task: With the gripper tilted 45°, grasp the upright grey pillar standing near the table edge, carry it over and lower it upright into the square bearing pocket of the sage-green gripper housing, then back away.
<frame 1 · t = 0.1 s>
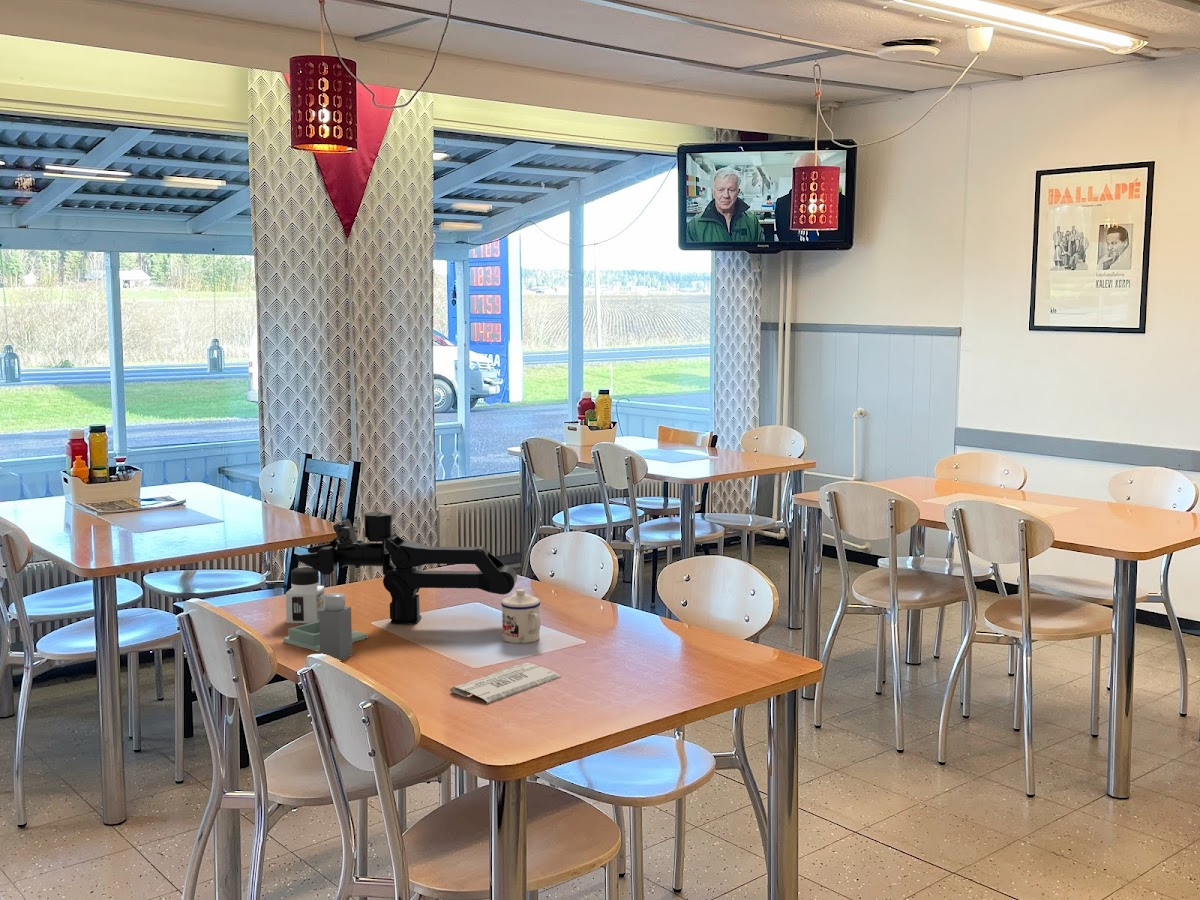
hand: (302, 553, 285), 17 cm above the table, tool horizontal, fingers open, 9 cm apart
teacup with lid: (524, 641, 270), on the table
container: (306, 620, 287), on the table
newspaper: (502, 688, 238), on the table
housing: (317, 642, 267), on the table
upright grey pillar: (336, 657, 256), on the table
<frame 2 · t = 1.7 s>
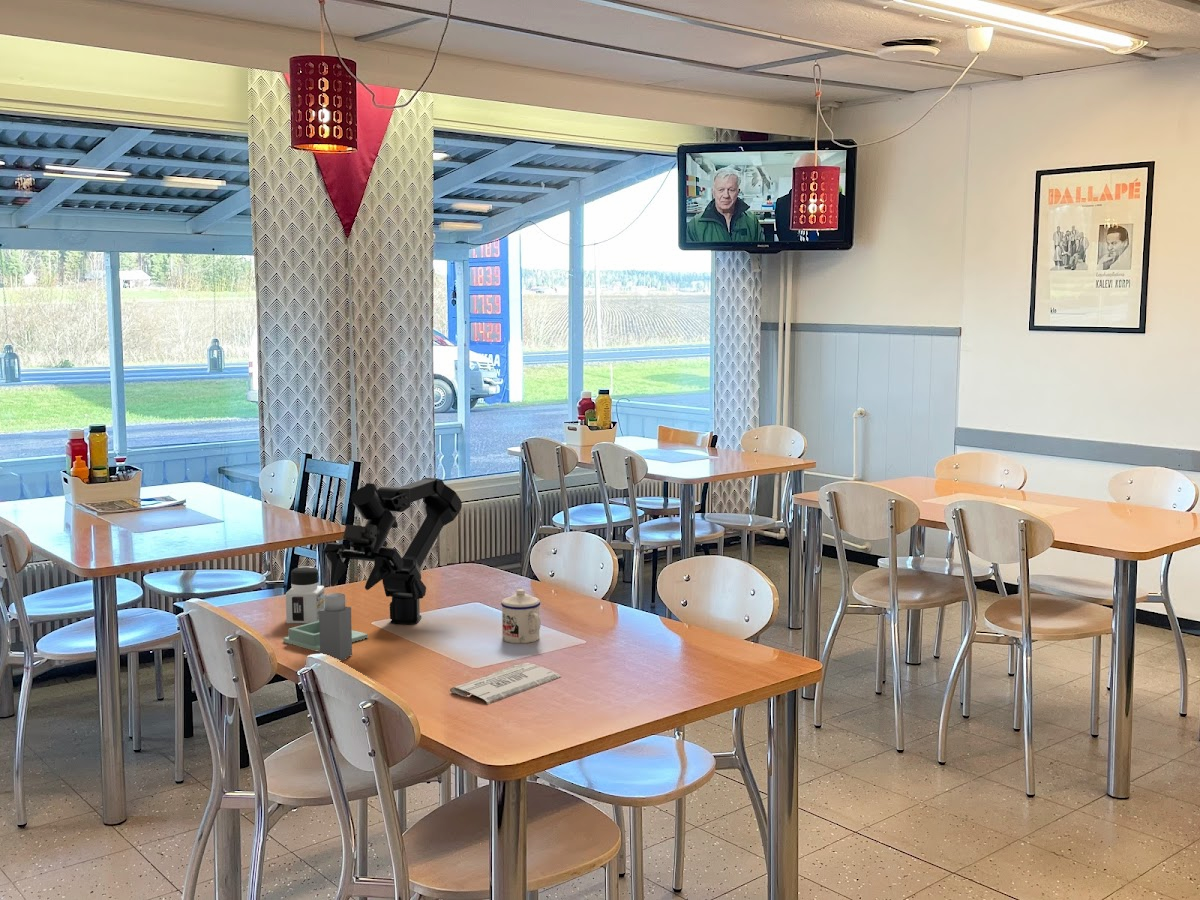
hand: (348, 587, 262), 14 cm above the table, tool tilted 45°, fingers open, 9 cm apart
nothing on the table moved.
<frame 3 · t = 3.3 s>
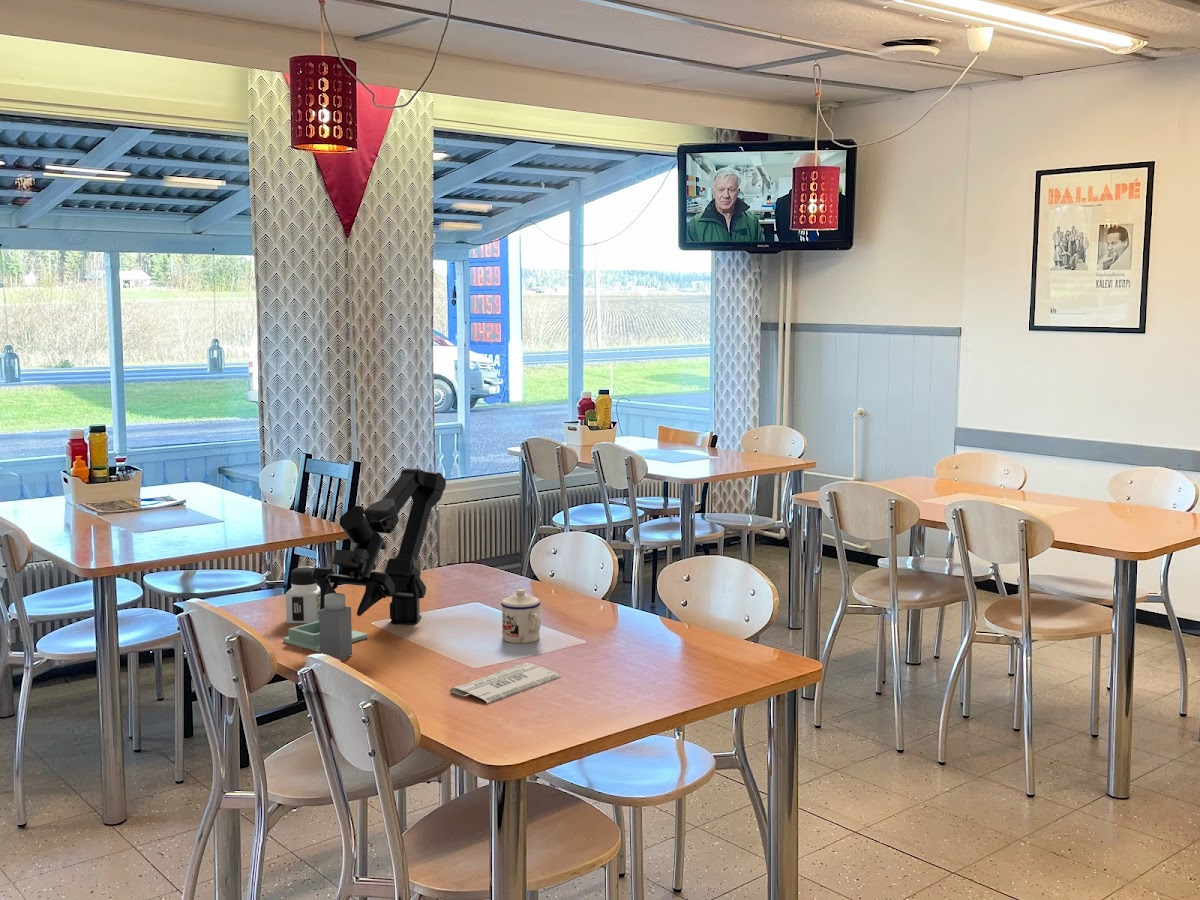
hand: (339, 613, 257), 9 cm above the table, tool tilted 45°, fingers open, 9 cm apart
nothing on the table moved.
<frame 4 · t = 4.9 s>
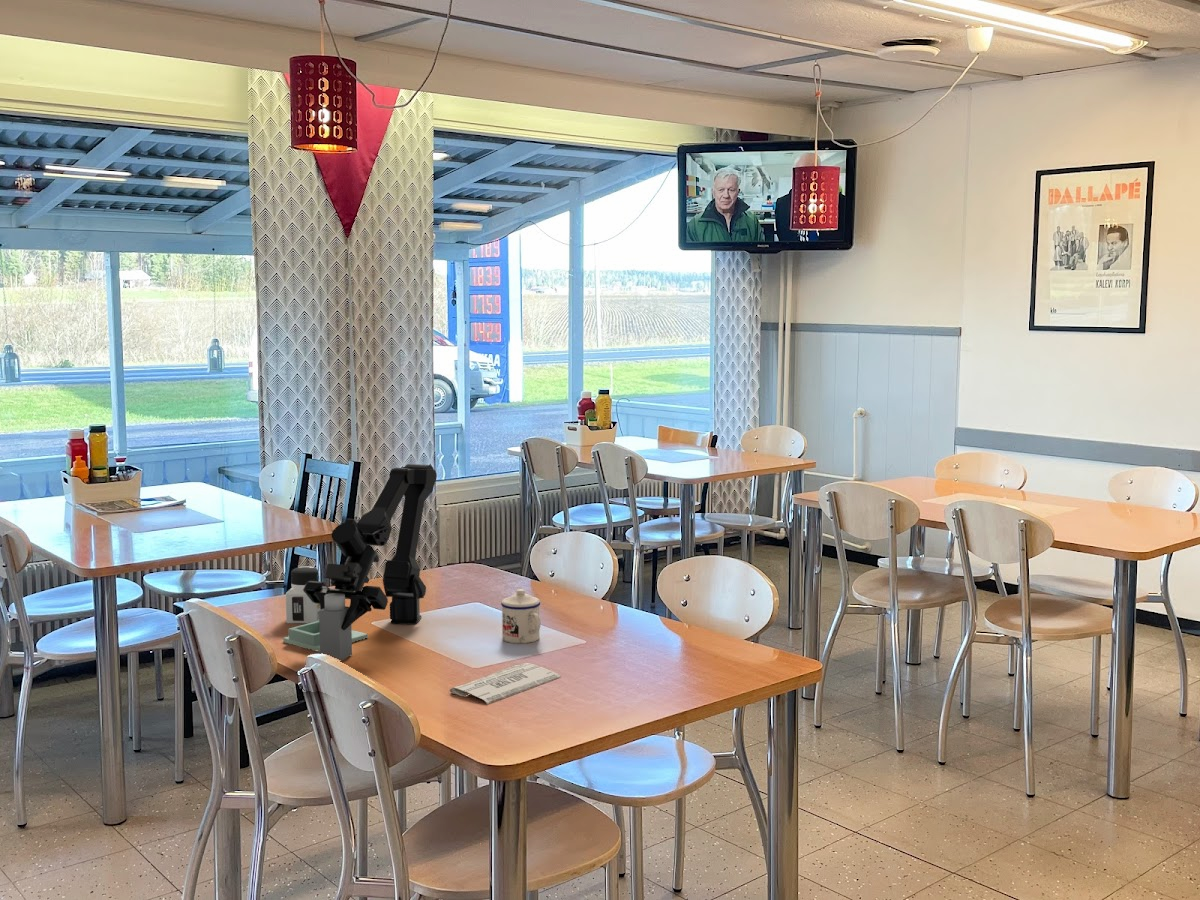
hand: (332, 628, 254), 7 cm above the table, tool tilted 45°, fingers closed on upright grey pillar, 5 cm apart
upright grey pillar: (336, 657, 256), on the table, touching gripper
everything else where it was.
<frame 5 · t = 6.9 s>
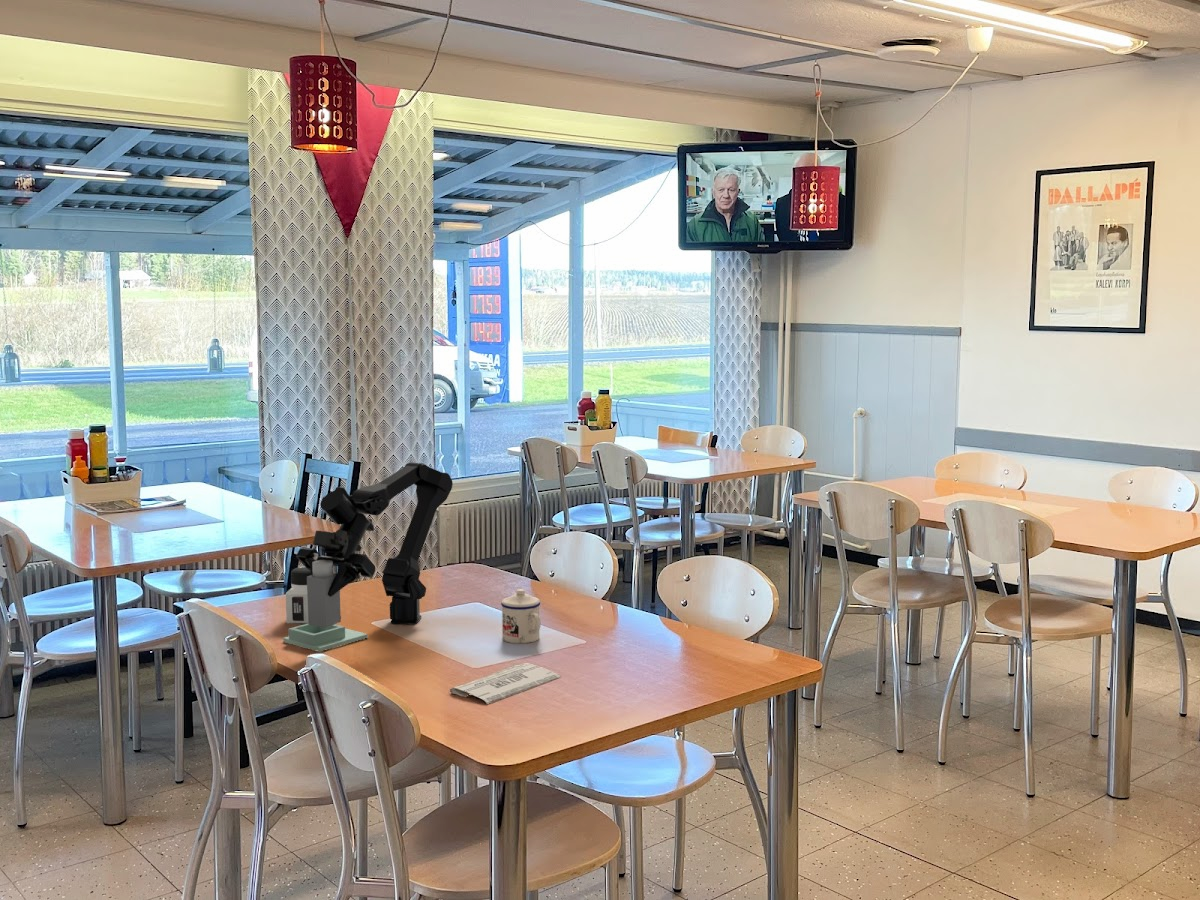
hand: (319, 594, 258), 13 cm above the table, tool tilted 45°, fingers closed on upright grey pillar, 5 cm apart
upright grey pillar: (324, 623, 260), point 6 cm above the table, touching gripper
everything else where it was.
when the fingers open (9 cm above the table, at t = 8.9 s): upright grey pillar drops 1 cm, resting on housing.
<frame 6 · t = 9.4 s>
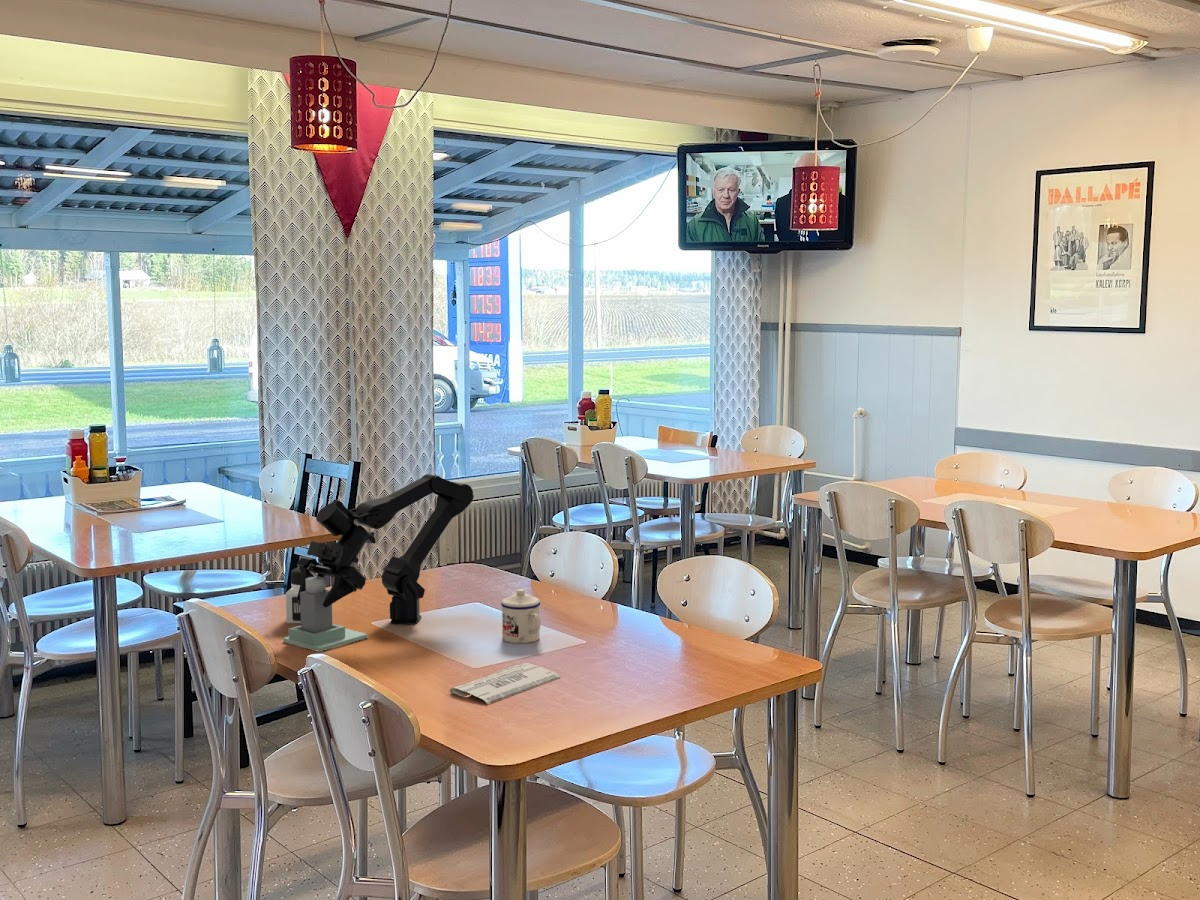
hand: (311, 603, 265), 10 cm above the table, tool tilted 45°, fingers open, 9 cm apart
upright grey pillar: (317, 638, 267), point 1 cm above the table, touching housing
everything else where it was.
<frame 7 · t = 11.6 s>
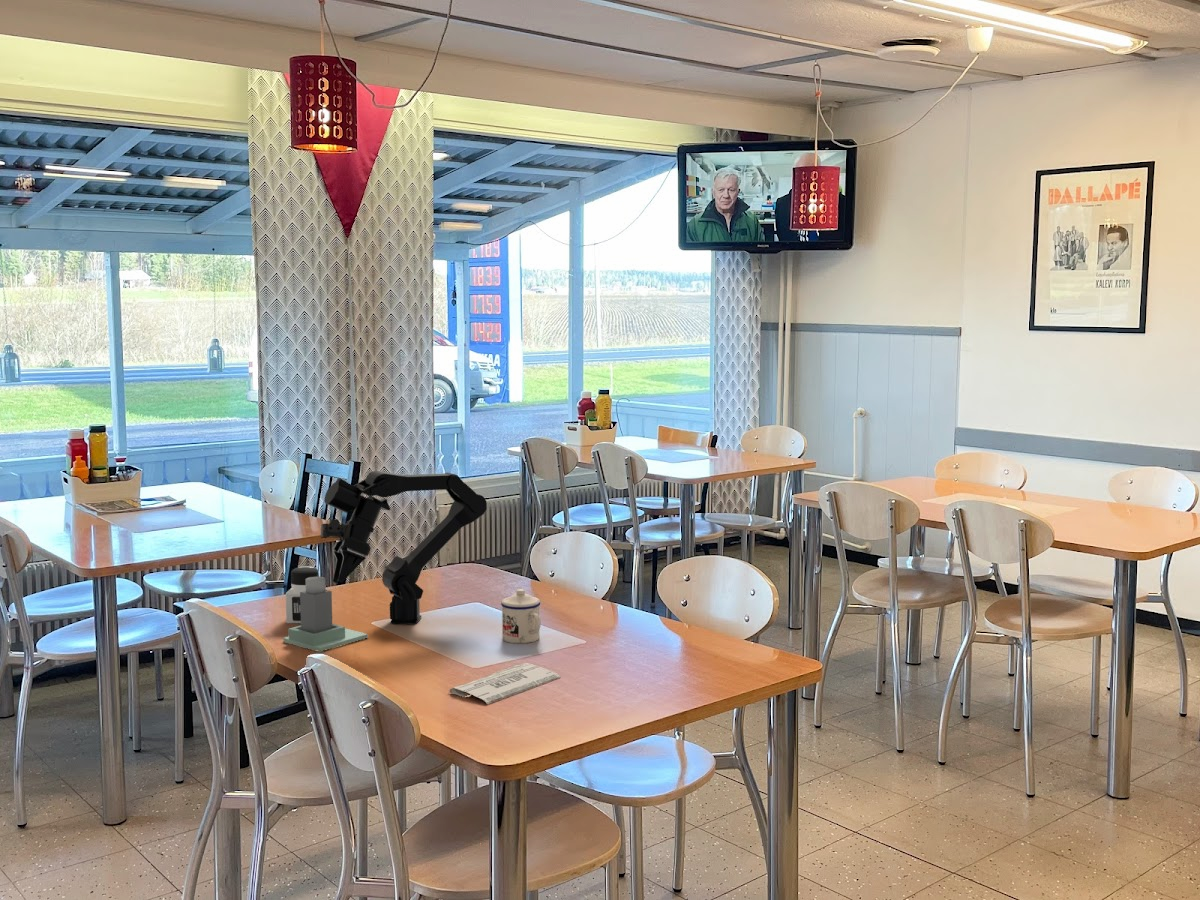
hand: (337, 581, 273), 13 cm above the table, tool tilted 30°, fingers open, 9 cm apart
nothing on the table moved.
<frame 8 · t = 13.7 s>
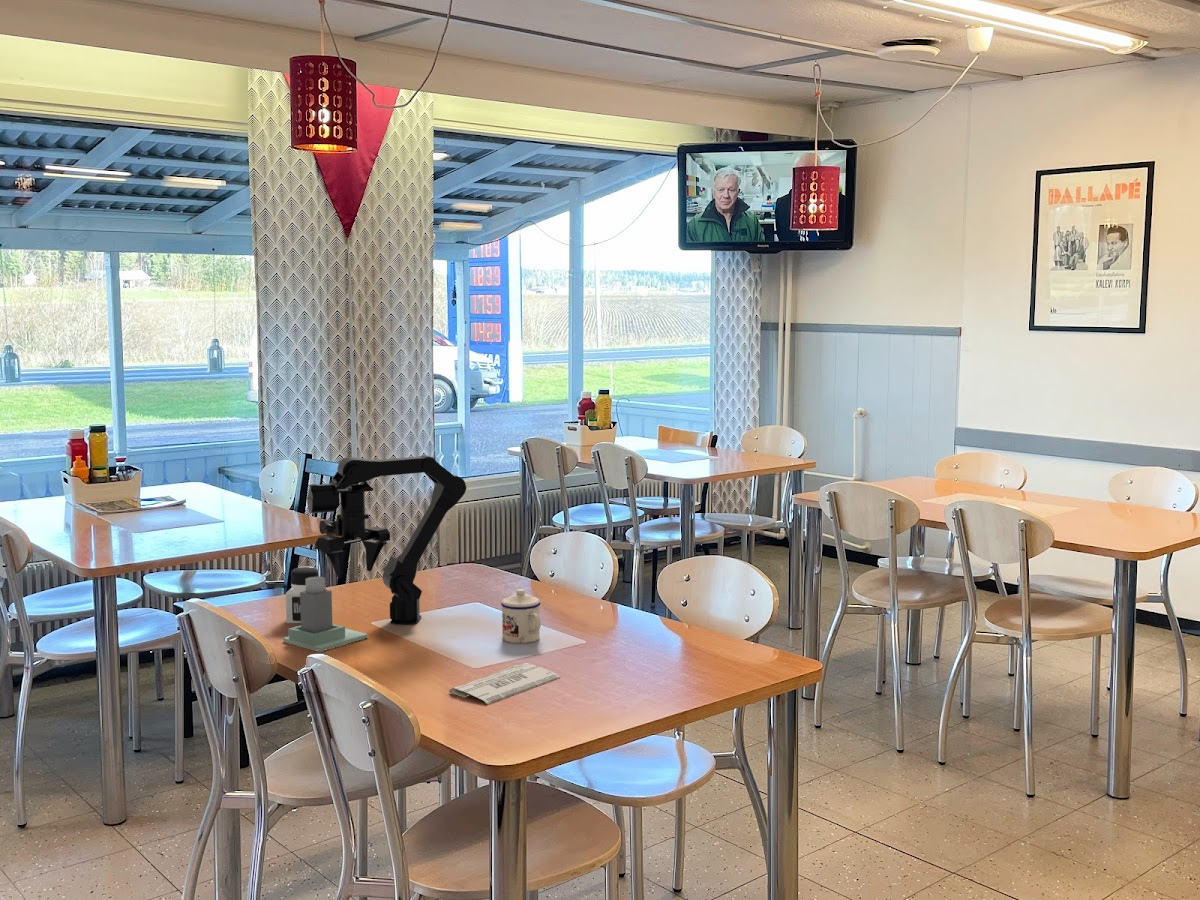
hand: (354, 574, 279), 13 cm above the table, tool pointing down, fingers open, 9 cm apart
nothing on the table moved.
at the end: upright grey pillar 0.0 cm off-centre on the housing, point 1.0 cm above the housing's base; upright grey pillar tilted 0°; the gripper is holding nothing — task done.
